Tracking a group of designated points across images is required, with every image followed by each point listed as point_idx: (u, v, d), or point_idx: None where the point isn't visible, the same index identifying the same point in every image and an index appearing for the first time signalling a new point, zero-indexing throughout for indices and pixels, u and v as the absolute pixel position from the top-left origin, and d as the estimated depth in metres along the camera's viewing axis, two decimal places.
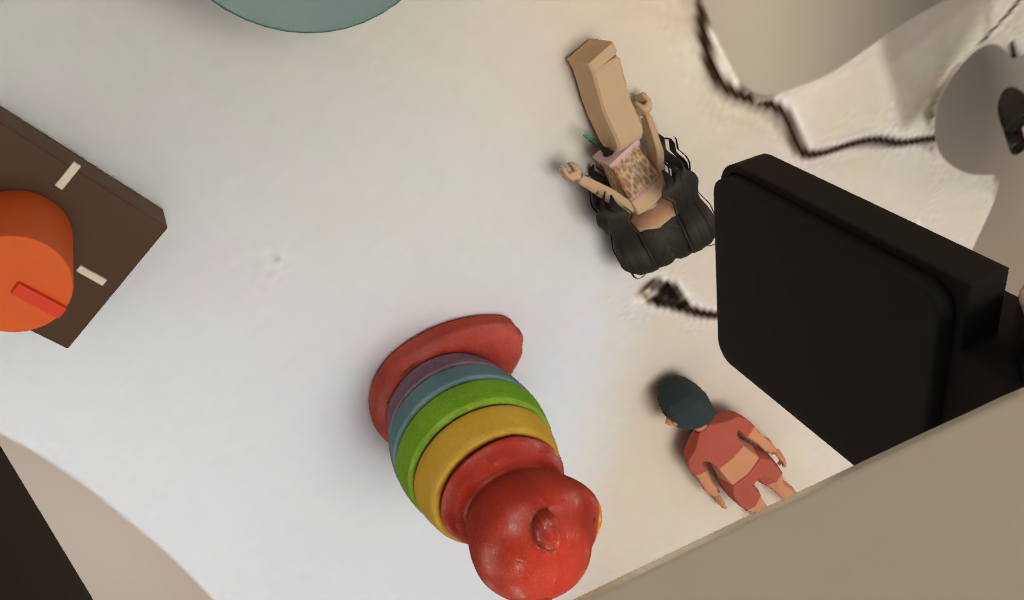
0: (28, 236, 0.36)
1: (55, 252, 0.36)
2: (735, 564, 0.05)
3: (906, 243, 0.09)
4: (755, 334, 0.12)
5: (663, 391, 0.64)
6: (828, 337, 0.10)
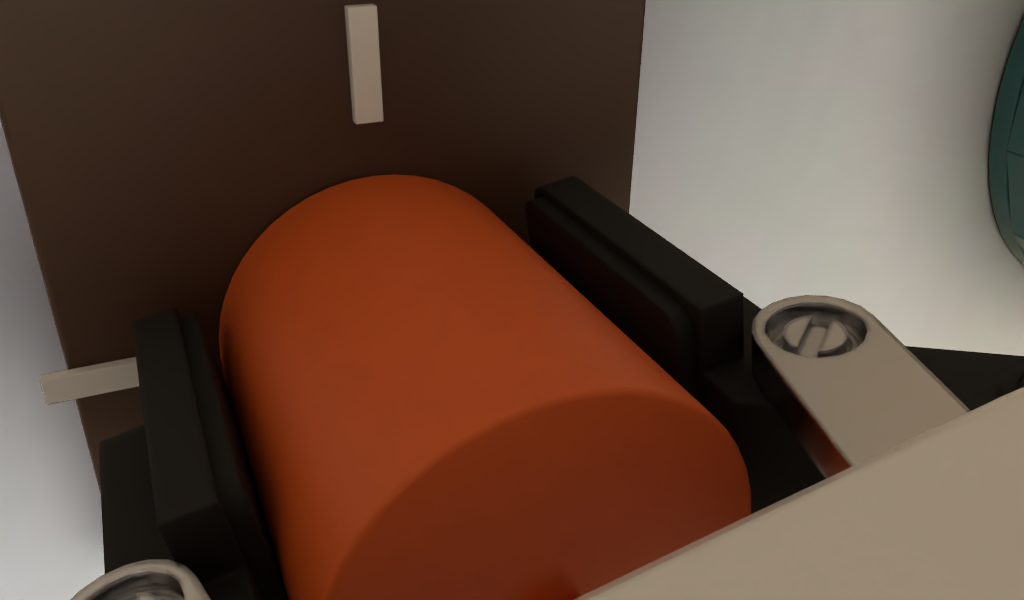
0: (744, 472, 0.09)
1: None
2: (735, 564, 0.05)
3: (662, 268, 0.09)
4: None
5: None
6: None
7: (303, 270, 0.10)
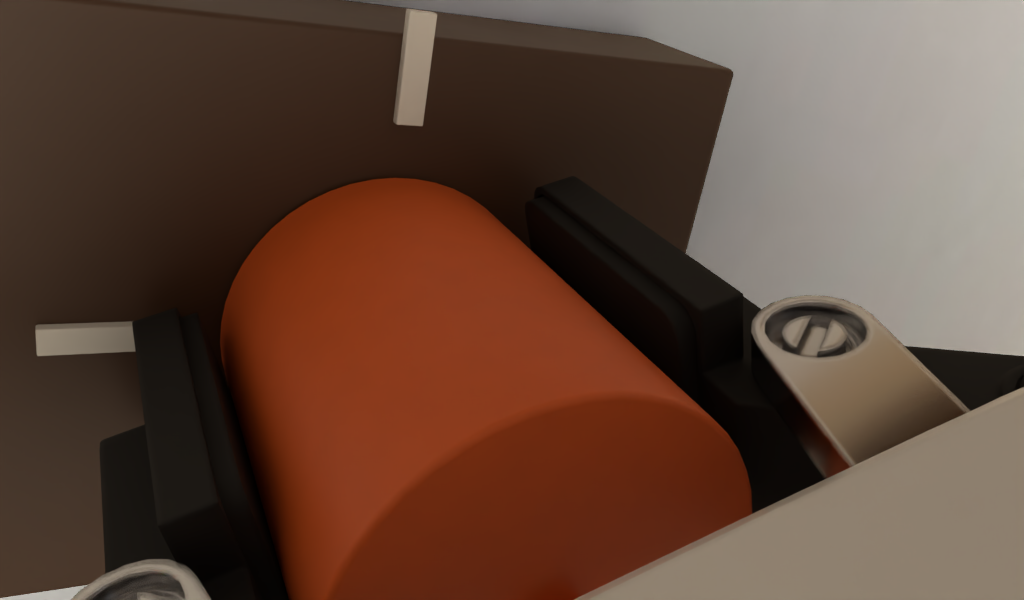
0: (743, 474, 0.09)
1: None
2: (736, 564, 0.05)
3: (661, 268, 0.09)
4: None
5: None
6: None
7: (302, 274, 0.10)
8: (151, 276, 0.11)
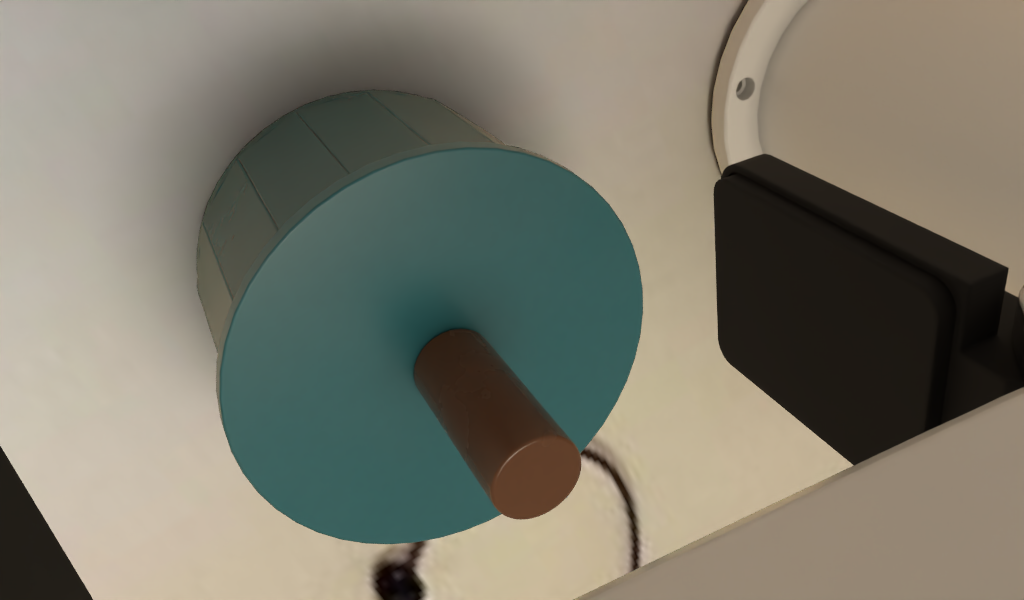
0: None
1: None
2: (735, 564, 0.05)
3: (906, 243, 0.09)
4: (755, 334, 0.12)
5: None
6: (828, 337, 0.10)
7: None
8: None
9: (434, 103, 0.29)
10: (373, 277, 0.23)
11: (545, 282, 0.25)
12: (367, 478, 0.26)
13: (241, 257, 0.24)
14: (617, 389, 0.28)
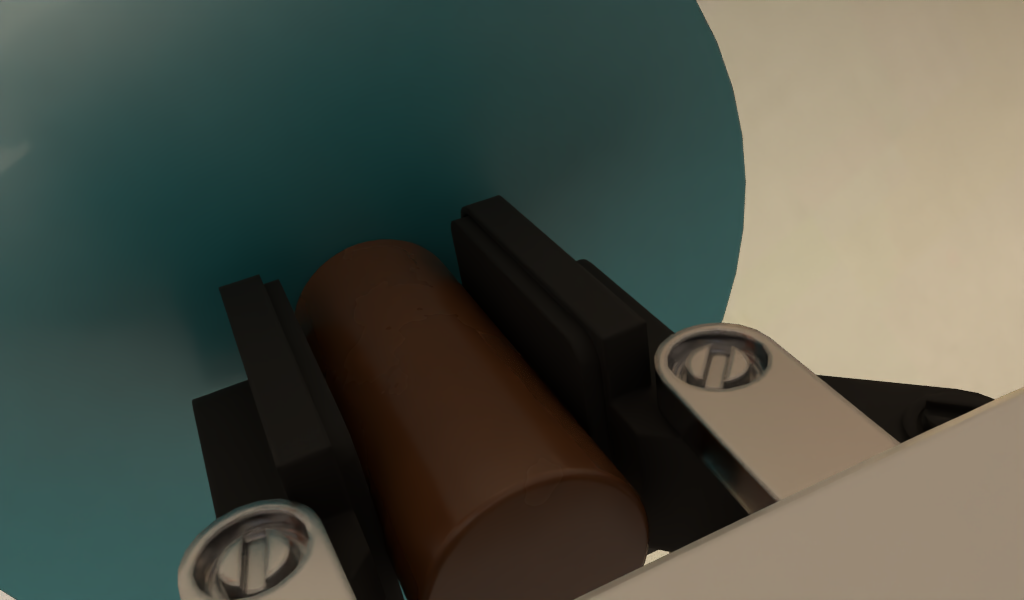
0: None
1: None
2: (736, 563, 0.05)
3: (570, 294, 0.09)
4: None
5: None
6: None
7: None
8: None
9: None
10: (125, 169, 0.10)
11: (525, 111, 0.12)
12: None
13: None
14: (720, 291, 0.15)
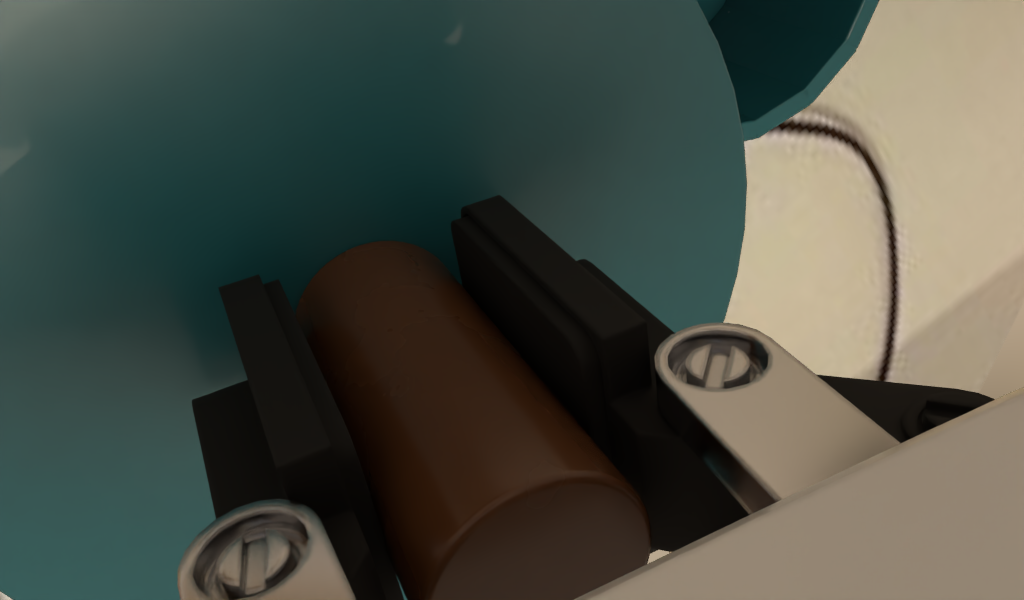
0: None
1: None
2: (735, 564, 0.05)
3: (570, 294, 0.09)
4: None
5: None
6: None
7: None
8: None
9: None
10: (125, 171, 0.10)
11: (527, 112, 0.12)
12: None
13: None
14: (722, 292, 0.15)
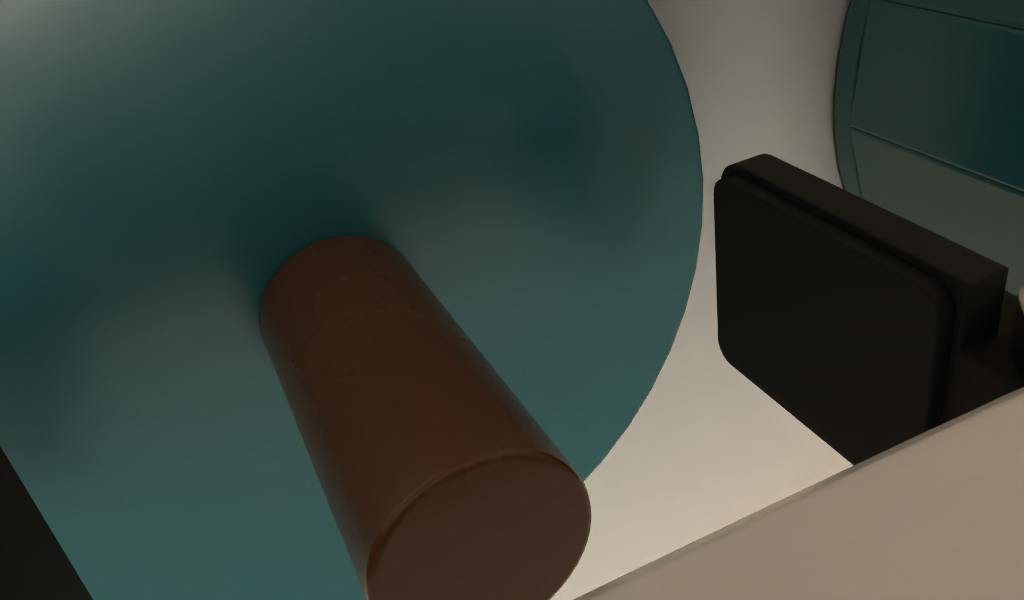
0: None
1: None
2: (735, 564, 0.05)
3: (906, 243, 0.09)
4: (755, 334, 0.12)
5: None
6: (828, 337, 0.10)
7: None
8: None
9: None
10: (91, 169, 0.11)
11: (483, 111, 0.13)
12: (251, 539, 0.14)
13: None
14: (681, 285, 0.16)
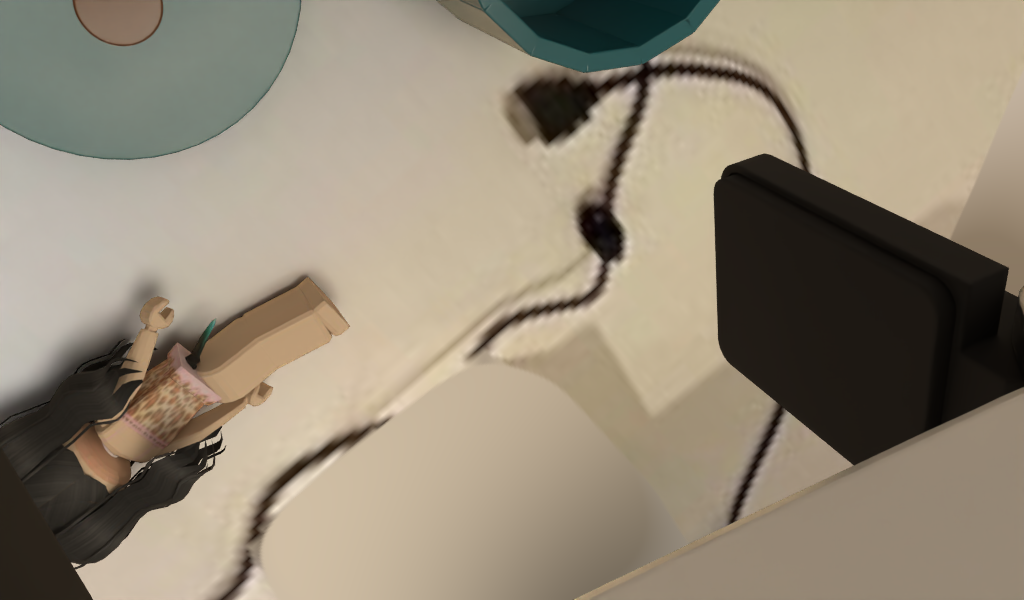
0: None
1: None
2: (735, 563, 0.05)
3: (906, 243, 0.09)
4: (755, 334, 0.12)
5: None
6: (828, 337, 0.10)
7: None
8: None
9: None
10: None
11: None
12: (78, 94, 0.31)
13: None
14: None
